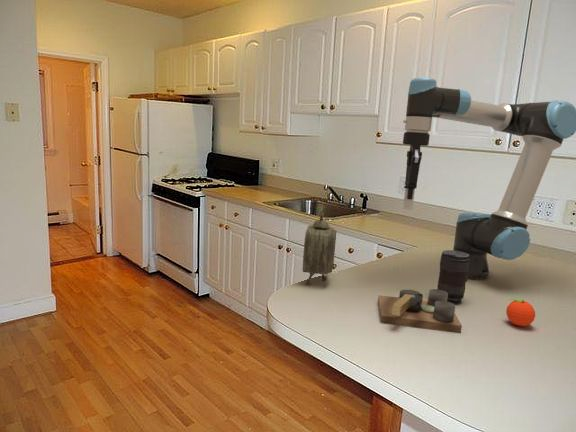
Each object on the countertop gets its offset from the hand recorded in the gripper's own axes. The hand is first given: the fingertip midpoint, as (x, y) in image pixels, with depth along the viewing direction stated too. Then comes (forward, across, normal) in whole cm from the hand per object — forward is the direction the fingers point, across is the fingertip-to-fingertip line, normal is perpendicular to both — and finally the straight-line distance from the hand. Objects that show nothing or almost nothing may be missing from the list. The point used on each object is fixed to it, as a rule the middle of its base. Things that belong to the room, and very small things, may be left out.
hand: (407, 209), depth 131 cm
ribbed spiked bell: (+27, 0, -26) cm, 37 cm away
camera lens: (+27, +4, +15) cm, 31 cm away
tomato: (+27, +17, +30) cm, 44 cm away
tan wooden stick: (+24, +24, -1) cm, 34 cm away
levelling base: (+26, +20, +3) cm, 33 cm away
